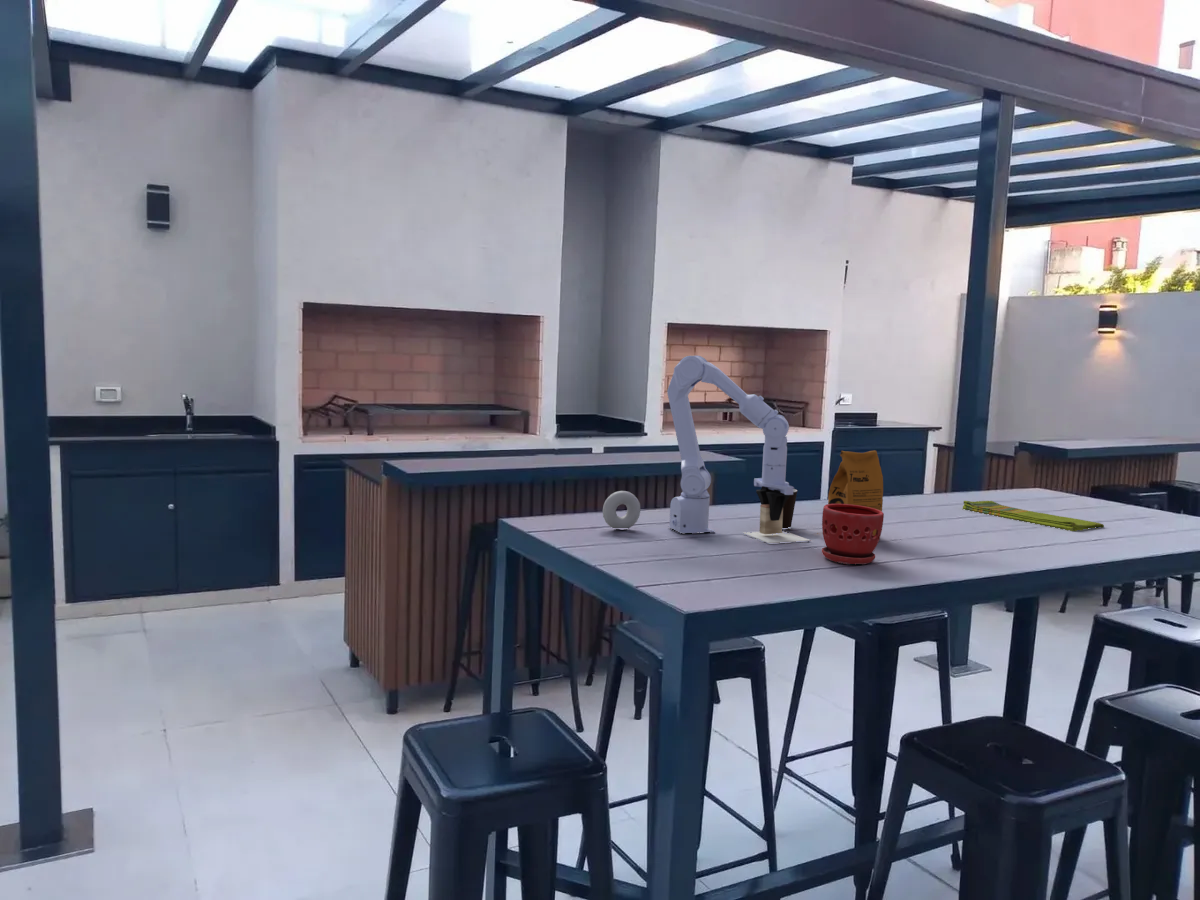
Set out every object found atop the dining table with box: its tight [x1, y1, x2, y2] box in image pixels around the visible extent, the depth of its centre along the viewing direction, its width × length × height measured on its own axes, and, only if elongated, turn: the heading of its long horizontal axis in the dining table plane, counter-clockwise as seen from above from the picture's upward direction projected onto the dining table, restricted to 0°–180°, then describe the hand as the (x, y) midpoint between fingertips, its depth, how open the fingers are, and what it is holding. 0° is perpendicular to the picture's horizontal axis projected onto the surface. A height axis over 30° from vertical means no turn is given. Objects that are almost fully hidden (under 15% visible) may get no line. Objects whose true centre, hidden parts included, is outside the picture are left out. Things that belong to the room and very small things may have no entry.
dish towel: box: [962, 500, 1105, 532], centre depth 268 cm, size 15×36×3 cm, turn 31°
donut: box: [602, 490, 641, 529], centre depth 230 cm, size 10×4×10 cm, turn 110°
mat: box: [743, 530, 812, 543], centre depth 228 cm, size 12×12×1 cm
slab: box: [759, 504, 783, 534], centre depth 228 cm, size 5×2×7 cm, turn 112°
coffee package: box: [827, 450, 884, 536], centre depth 230 cm, size 10×12×22 cm
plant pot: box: [821, 503, 885, 566], centre depth 205 cm, size 13×13×12 cm
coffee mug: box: [782, 488, 798, 528], centre depth 242 cm, size 12×9×10 cm
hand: (771, 519), depth 228 cm, fingers closed on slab, 2 cm apart
